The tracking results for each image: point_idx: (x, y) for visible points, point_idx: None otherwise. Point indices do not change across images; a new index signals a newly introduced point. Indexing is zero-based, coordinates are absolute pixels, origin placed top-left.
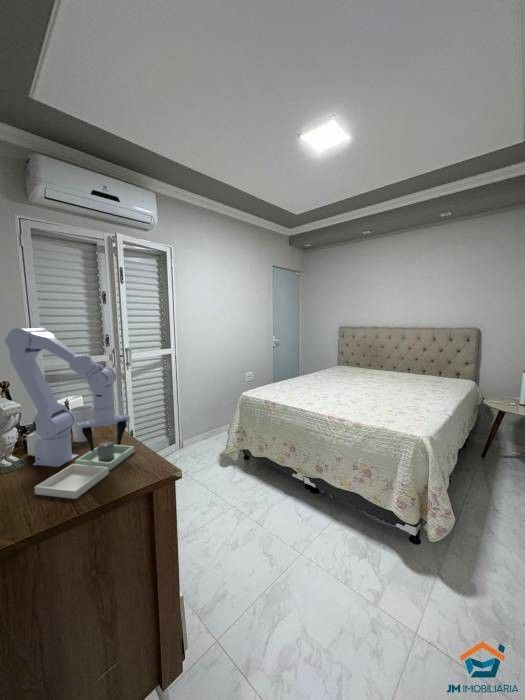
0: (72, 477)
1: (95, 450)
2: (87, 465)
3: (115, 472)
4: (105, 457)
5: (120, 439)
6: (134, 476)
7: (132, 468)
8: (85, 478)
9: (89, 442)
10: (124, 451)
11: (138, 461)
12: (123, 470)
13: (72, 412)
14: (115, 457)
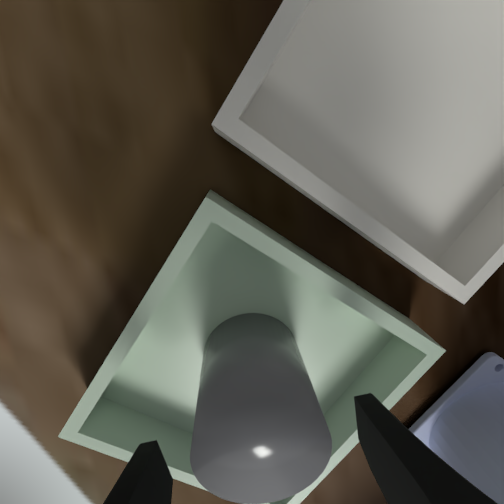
0: (438, 183)
1: None
2: (375, 234)
3: (174, 163)
4: (254, 333)
5: (110, 500)
6: (7, 16)
7: (56, 174)
8: (365, 126)
9: (452, 474)
10: (148, 418)
11: (32, 269)
12: (120, 170)
13: None
14: (196, 359)
